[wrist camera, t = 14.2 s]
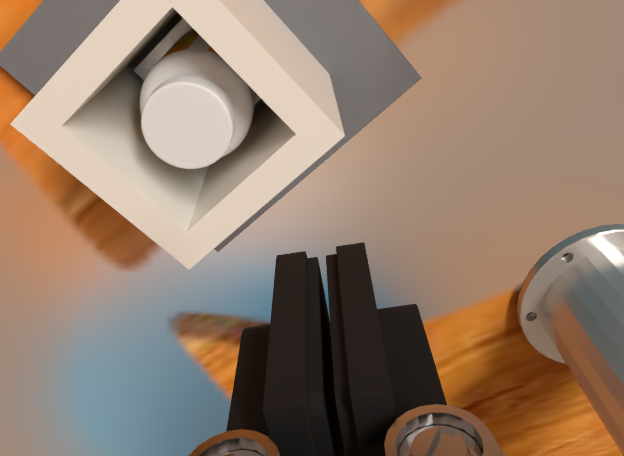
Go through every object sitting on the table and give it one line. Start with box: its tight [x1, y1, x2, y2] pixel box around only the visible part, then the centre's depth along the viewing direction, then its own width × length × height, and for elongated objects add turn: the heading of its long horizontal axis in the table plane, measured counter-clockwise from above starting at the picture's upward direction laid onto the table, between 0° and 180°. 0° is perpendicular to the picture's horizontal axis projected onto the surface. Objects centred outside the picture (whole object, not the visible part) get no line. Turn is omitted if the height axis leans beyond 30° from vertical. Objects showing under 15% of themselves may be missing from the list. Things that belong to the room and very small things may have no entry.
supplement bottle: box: [140, 30, 257, 169], centre depth 29 cm, size 5×5×10 cm
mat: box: [0, 0, 421, 251], centre depth 35 cm, size 18×18×1 cm
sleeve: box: [11, 0, 345, 270], centre depth 29 cm, size 10×10×11 cm
